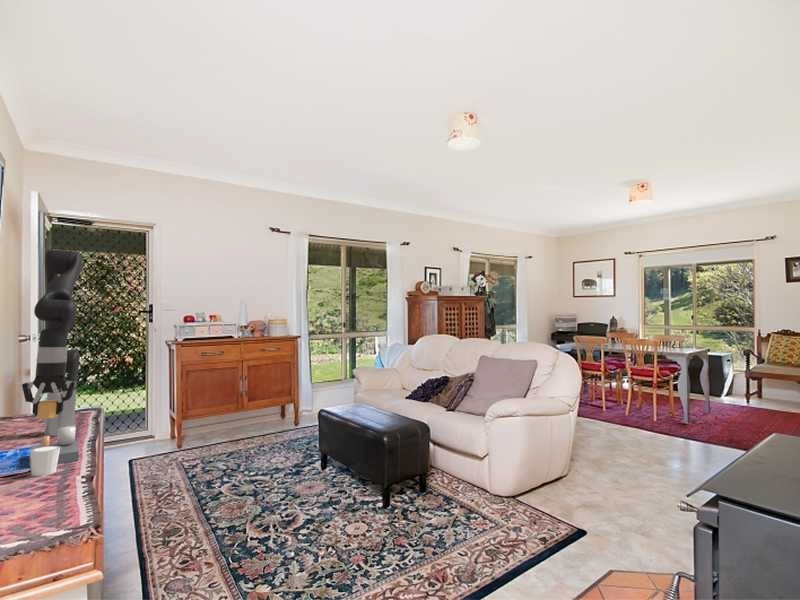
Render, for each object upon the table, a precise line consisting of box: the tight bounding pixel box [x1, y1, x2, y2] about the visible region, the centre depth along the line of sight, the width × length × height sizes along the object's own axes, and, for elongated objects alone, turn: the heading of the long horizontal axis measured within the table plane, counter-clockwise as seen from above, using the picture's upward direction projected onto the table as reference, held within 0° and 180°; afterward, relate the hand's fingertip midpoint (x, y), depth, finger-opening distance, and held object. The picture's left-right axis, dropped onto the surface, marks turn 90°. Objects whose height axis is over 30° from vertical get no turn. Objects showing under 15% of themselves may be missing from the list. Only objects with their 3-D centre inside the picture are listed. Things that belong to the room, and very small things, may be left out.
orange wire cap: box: [36, 399, 58, 420], centre depth 136 cm, size 5×5×5 cm
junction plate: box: [28, 425, 80, 466], centre depth 139 cm, size 16×12×9 cm
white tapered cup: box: [30, 446, 60, 477], centre depth 126 cm, size 7×7×7 cm
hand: (47, 414), depth 136 cm, fingers closed on orange wire cap, 4 cm apart
